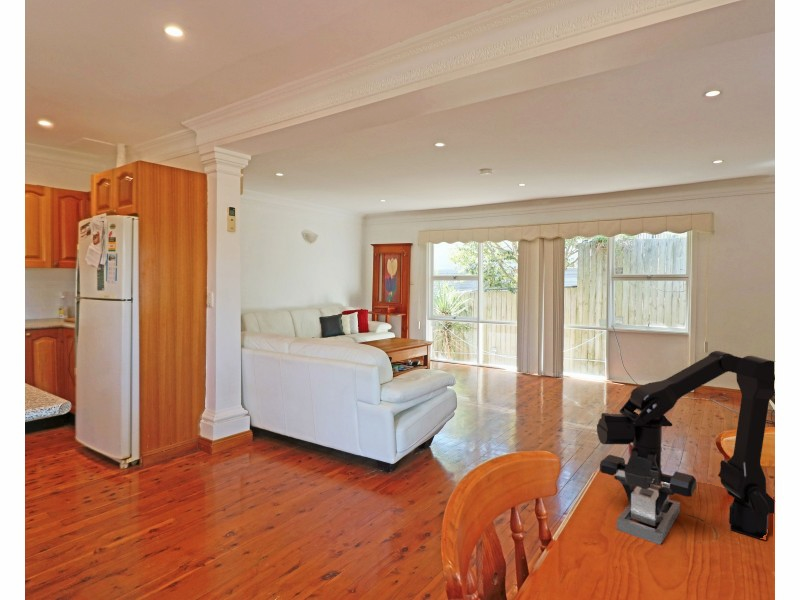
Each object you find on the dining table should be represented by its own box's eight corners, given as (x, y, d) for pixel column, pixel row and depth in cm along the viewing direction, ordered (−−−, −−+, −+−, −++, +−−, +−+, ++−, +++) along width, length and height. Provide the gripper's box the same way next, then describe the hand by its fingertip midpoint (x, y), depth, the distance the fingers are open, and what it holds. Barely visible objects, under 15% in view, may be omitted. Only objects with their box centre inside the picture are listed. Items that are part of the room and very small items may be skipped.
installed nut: (668, 512, 113) (669, 487, 112) (663, 521, 109) (664, 495, 109) (645, 505, 116) (646, 481, 116) (640, 513, 113) (640, 488, 112)
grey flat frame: (679, 512, 113) (680, 502, 113) (660, 545, 100) (660, 533, 100) (639, 500, 119) (640, 490, 119) (616, 529, 106) (616, 518, 106)
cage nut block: (661, 516, 107) (661, 490, 106) (654, 526, 103) (655, 499, 102) (637, 508, 110) (638, 483, 109) (630, 518, 106) (631, 492, 106)
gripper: (591, 443, 105) (590, 510, 106) (686, 466, 92) (684, 541, 93) (608, 430, 113) (607, 492, 114) (697, 450, 101) (695, 519, 102)
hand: (644, 510), depth 106 cm, fingers closed on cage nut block, 5 cm apart
